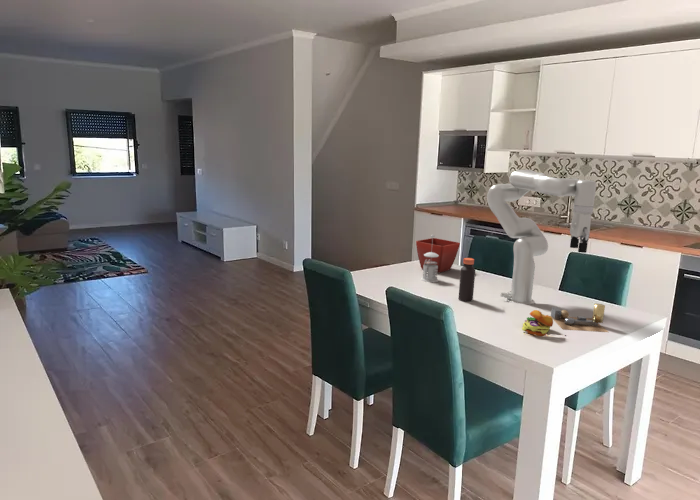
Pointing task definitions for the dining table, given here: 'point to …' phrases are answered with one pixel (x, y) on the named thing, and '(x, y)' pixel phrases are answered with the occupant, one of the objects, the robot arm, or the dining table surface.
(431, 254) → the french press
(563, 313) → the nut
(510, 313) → the dining table surface
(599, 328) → the board
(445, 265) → the plant pot
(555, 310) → the anvil
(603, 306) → the lever
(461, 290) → the bottle
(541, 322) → the cheeseburger
